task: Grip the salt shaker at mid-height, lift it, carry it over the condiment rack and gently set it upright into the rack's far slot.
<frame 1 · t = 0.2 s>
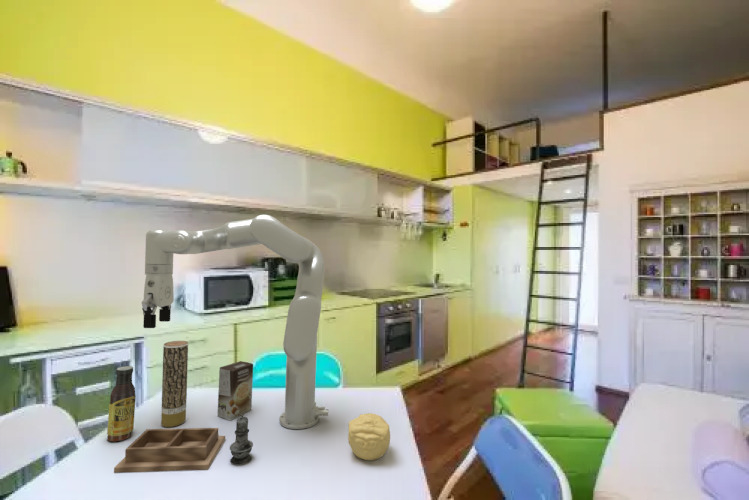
hand: (157, 324, 111), 31 cm above the table, tool pointing down, fingers open, 9 cm apart
coffee box: (234, 413, 120), on the table
paper tube: (173, 423, 112), on the table
condiment rack: (174, 454, 95), on the table
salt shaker: (241, 460, 94), on the table
sauce bottle: (120, 437, 103), on the table
sculpture: (368, 454, 98), on the table
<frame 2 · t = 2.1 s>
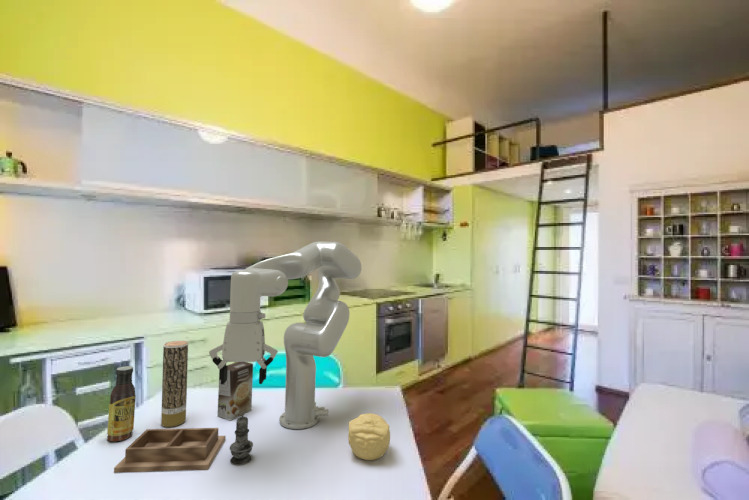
hand: (242, 382, 94), 20 cm above the table, tool pointing down, fingers open, 9 cm apart
nothing on the table moved.
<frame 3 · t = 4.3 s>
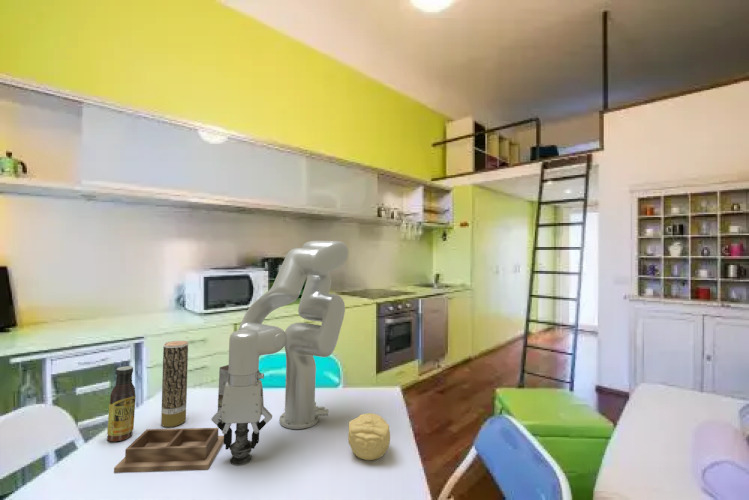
hand: (241, 445, 94), 4 cm above the table, tool pointing down, fingers closed on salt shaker, 5 cm apart
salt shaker: (240, 460, 94), on the table, touching gripper
everything else where it was.
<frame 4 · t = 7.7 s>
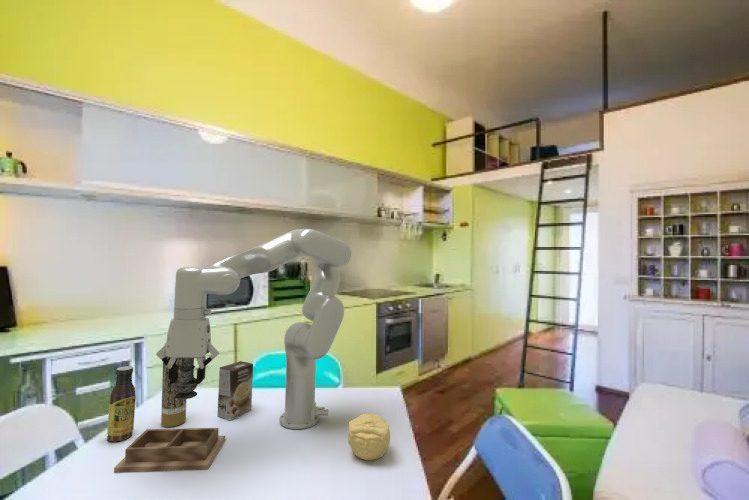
hand: (186, 381, 94), 20 cm above the table, tool pointing down, fingers closed on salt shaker, 5 cm apart
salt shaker: (186, 396, 94), point 16 cm above the table, touching gripper
everything else where it was.
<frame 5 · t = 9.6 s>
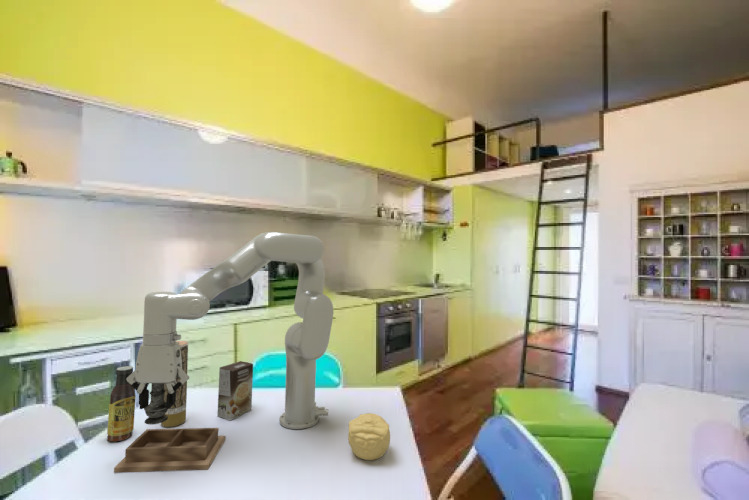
hand: (157, 406, 94), 13 cm above the table, tool pointing down, fingers closed on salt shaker, 5 cm apart
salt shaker: (156, 420, 94), point 9 cm above the table, touching gripper
everything else where it was.
when the fingers open (6 cm above the table, at t = 11.3 s): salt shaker drops 1 cm, resting on condiment rack.
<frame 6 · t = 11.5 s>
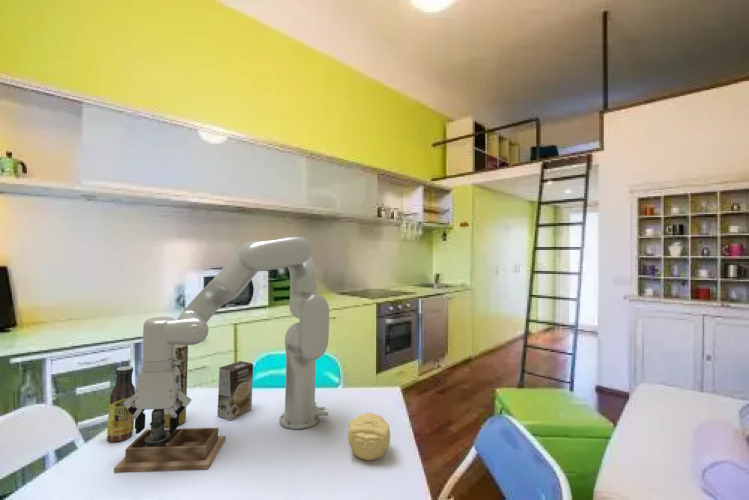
hand: (157, 430, 95), 7 cm above the table, tool pointing down, fingers open, 7 cm apart
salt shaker: (157, 451, 95), point 1 cm above the table, touching condiment rack
everything else where it was.
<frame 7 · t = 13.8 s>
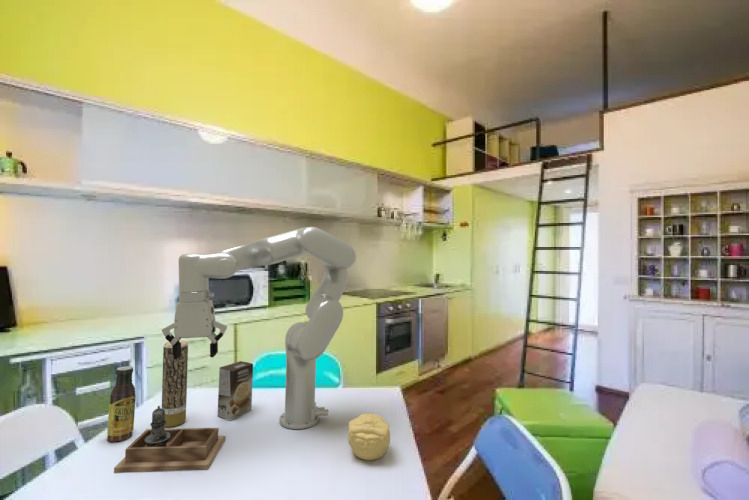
hand: (195, 356, 101), 24 cm above the table, tool pointing down, fingers open, 9 cm apart
nothing on the table moved.
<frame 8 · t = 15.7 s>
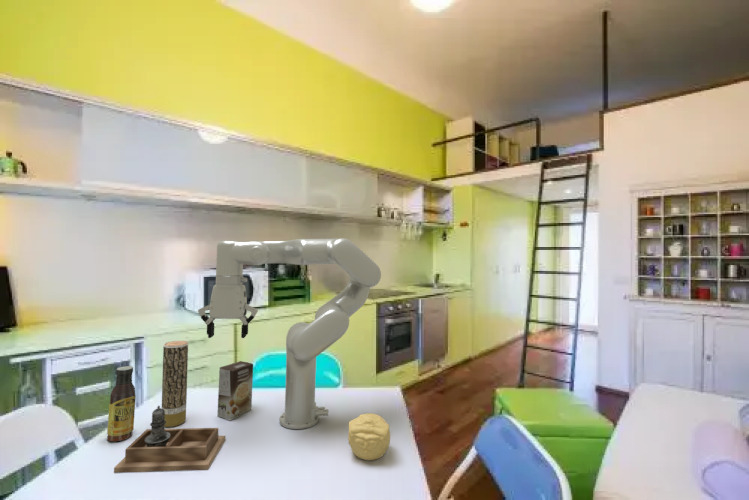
hand: (227, 337, 109), 28 cm above the table, tool pointing down, fingers open, 9 cm apart
nothing on the table moved.
at the end: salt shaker 0.3 cm from the target spot on the condiment rack, point 1.0 cm above the condiment rack's base; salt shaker tilted 0°; the gripper is holding nothing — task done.
